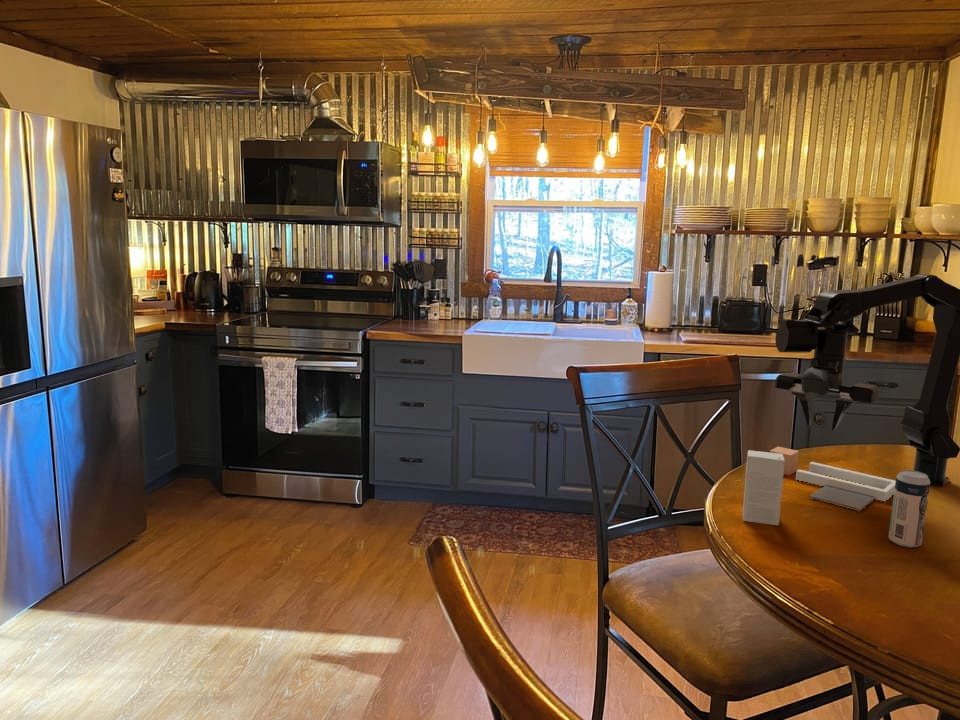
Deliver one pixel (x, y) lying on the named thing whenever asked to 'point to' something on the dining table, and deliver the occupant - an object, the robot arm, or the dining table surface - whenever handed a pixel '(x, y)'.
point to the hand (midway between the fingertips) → (821, 427)
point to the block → (788, 459)
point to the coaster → (842, 497)
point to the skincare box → (763, 487)
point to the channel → (872, 487)
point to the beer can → (909, 508)
